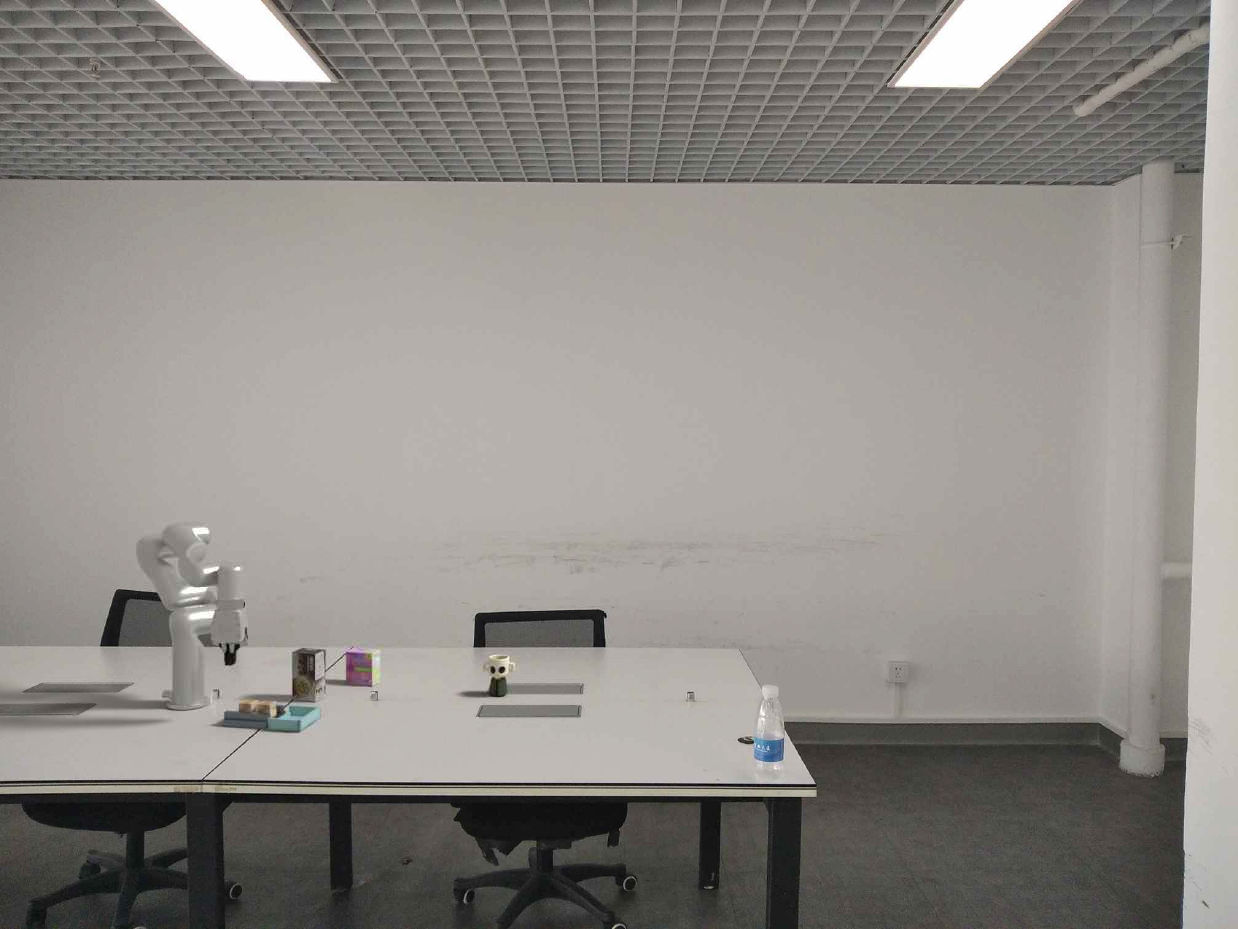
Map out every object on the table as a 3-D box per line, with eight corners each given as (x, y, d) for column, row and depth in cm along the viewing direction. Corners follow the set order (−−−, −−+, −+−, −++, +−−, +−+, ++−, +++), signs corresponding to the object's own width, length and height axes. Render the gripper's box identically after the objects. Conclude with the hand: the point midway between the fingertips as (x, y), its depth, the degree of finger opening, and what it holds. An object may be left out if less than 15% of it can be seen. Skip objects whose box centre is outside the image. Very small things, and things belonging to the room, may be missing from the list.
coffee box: (326, 697, 314) (326, 649, 314) (315, 702, 308) (315, 653, 307) (302, 694, 317) (302, 647, 316) (290, 700, 310) (291, 651, 310)
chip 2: (257, 717, 285) (257, 704, 285) (263, 713, 289) (264, 700, 289) (269, 718, 284) (269, 705, 284) (276, 714, 288) (276, 701, 288)
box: (345, 684, 330) (345, 651, 330) (353, 680, 336) (354, 647, 335) (372, 687, 328) (372, 653, 327) (380, 682, 333) (380, 649, 333)
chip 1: (238, 716, 286) (238, 703, 285) (245, 712, 290) (245, 699, 289) (251, 717, 285) (251, 704, 285) (257, 713, 289) (257, 700, 289)
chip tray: (267, 730, 279) (267, 718, 279) (290, 716, 293) (290, 705, 293) (299, 732, 278) (299, 720, 278) (320, 718, 292) (320, 707, 292)
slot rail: (222, 726, 282) (222, 713, 282) (243, 714, 294) (243, 701, 294) (266, 729, 280) (266, 715, 280) (285, 717, 292) (285, 704, 292)
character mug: (480, 697, 318) (481, 659, 318) (484, 691, 325) (485, 654, 325) (512, 698, 318) (513, 660, 317) (515, 692, 325) (516, 655, 324)
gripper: (200, 606, 284) (200, 666, 285) (247, 608, 282) (246, 669, 283) (214, 601, 292) (214, 660, 292) (260, 603, 290) (259, 663, 290)
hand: (230, 664), depth 287 cm, fingers closed
